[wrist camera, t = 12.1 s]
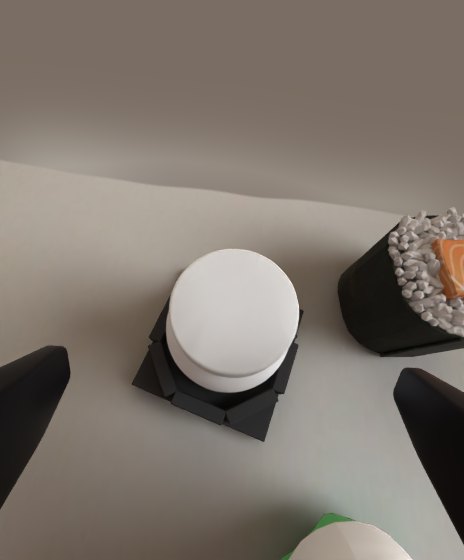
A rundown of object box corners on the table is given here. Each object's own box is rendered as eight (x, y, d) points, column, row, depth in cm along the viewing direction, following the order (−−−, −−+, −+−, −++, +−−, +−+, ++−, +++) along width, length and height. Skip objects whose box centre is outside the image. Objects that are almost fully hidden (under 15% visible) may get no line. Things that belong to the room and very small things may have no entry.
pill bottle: (217, 291, 21) (224, 209, 11) (280, 341, 20) (345, 295, 10) (162, 354, 19) (116, 316, 9) (229, 412, 18) (252, 435, 8)
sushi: (455, 353, 21) (587, 333, 14) (350, 361, 20) (430, 342, 13) (422, 257, 24) (515, 198, 17) (328, 260, 23) (384, 199, 16)
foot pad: (261, 439, 18) (269, 446, 16) (135, 385, 19) (124, 383, 16) (299, 313, 21) (310, 304, 19) (191, 271, 22) (189, 256, 20)
